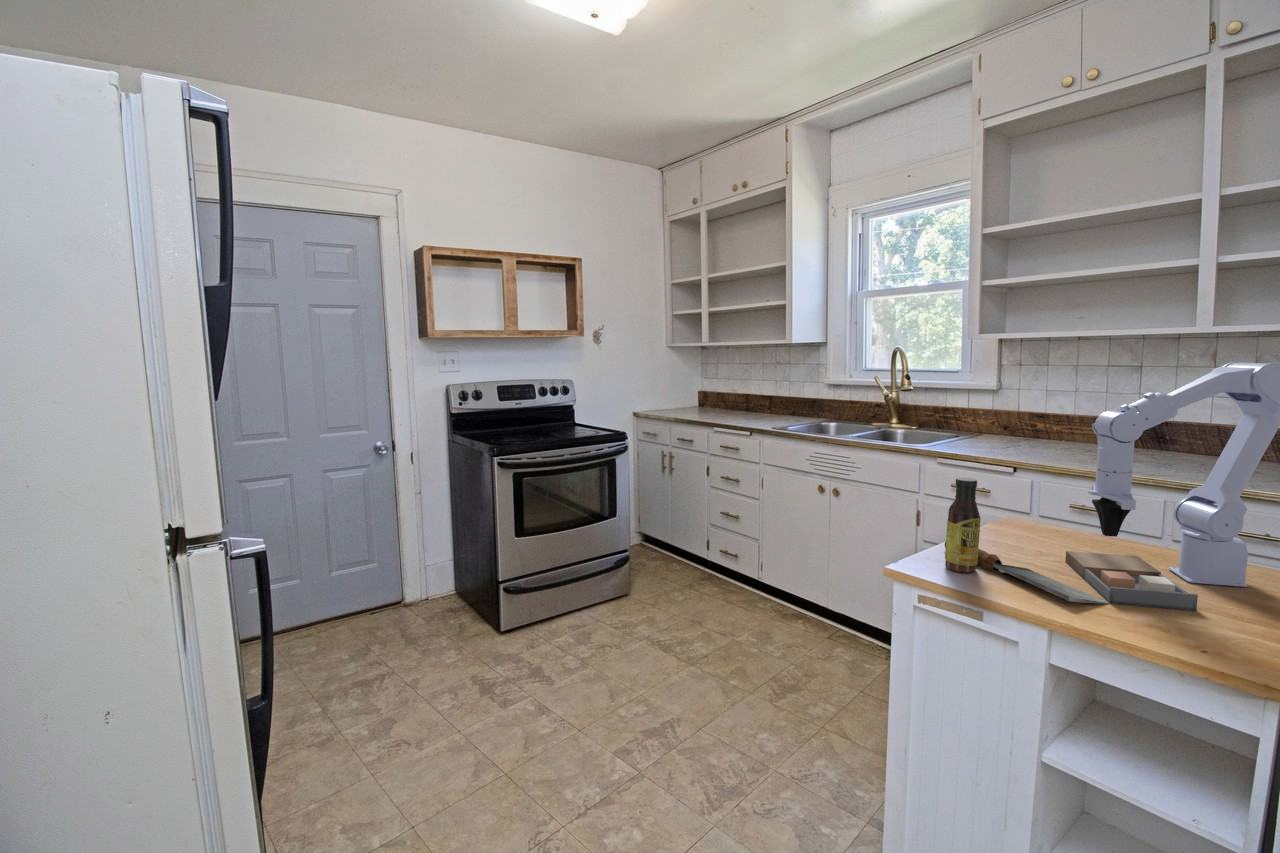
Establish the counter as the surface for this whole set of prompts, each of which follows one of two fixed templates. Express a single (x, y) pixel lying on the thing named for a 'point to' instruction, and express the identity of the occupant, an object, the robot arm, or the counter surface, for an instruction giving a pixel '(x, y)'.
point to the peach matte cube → (1117, 579)
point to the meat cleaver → (1036, 579)
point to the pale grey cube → (1155, 583)
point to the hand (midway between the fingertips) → (1109, 535)
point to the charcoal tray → (1142, 594)
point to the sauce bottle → (963, 528)
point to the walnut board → (1109, 563)
